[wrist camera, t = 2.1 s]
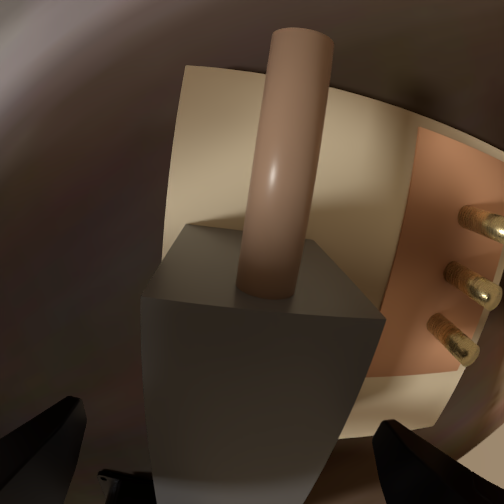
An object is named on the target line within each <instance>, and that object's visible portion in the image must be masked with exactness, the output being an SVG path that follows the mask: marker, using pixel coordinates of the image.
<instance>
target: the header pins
mask: <svg viewBox="0 0 504 504" xmlns="http://www.w3.org/2000/svg"><path fill="white" fill-rule="evenodd" d="M458 223H459V225H460V226H461V227H462V228H465V229H467V230H470V231H472V232H475V233H477V234H480V235H482V236H485V237H487V238H490V239H492V240H494V241H497V242H499V243H501V244H504V216H501V215H498V214H495V213H492V212H489V211H485V210H482V209H479V208H475V207H472V206H469V205H465V206H463V207H462V208H461V209H460V210H459V213H458ZM443 275H444V279H445V281H446V282H448V283H449V284H451V285H452V286H454V287H455V288H457V289H458V290H460V291H461V292H463V293H464V294H466V295H467V296H468V297H470V298H471V299H473V300H474V301H476V302H477V303H478V304H480V305H481V306H483V307H484V308H485V309H487V310H489V311H491V310H493V309H495V308H496V307H497V306H498V304H499V303H500V301H501V298H502V288H501V287H500V286H498V285H497V284H495V283H493V282H492V281H490V280H488V279H486V278H485V277H483V276H481V275H480V274H478V273H476V272H474V271H473V270H471V269H469V268H467V267H466V266H464V265H462V264H460V263H458V262H457V261H451V262H450V263H448V264H447V266H446V267H445V269H444V274H443ZM426 327H427V330H428V331H429V332H430V333H431V334H432V335H433V336H434V337H435V338H436V339H437V340H438V341H439V342H440V343H441V344H442V345H443V346H444V347H445V348H446V349H447V350H448V351H449V352H450V353H451V354H452V355H453V356H454V357H455V358H456V359H457V360H458V361H459V362H460V363H461V365H462V366H464V367H466V366H469V365H471V364H472V363H473V362H474V361H475V360H476V359H477V357H478V355H479V352H480V348H479V346H478V345H477V344H475V343H474V342H473V341H472V340H471V339H470V338H469V337H468V336H466V335H465V334H464V333H463V332H462V331H461V330H460V329H459V328H457V327H456V326H455V325H454V324H453V323H452V322H450V321H449V320H448V319H447V318H446V317H445V316H443V315H442V314H441V313H435V314H433V315H432V316H431V317H430V318H429V320H428V322H427V325H426Z"/></svg>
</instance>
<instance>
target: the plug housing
mask: <svg viewBox="0 0 504 504" xmlns="http://www.w3.org/2000/svg"><path fill="white" fill-rule="evenodd" d="M333 50H334V42H333V41H332V39H331V38H329V37H328V36H326V35H324V34H322V33H320V32H317V31H314V30H310V29H304V28H283V29H279V30H277V31H275V32H274V33H273V34H272V40H271V46H270V52H269V59H268V65H267V72H266V78H265V84H264V91H263V97H262V104H261V111H260V117H259V124H258V131H257V137H256V144H255V151H254V158H253V164H252V171H251V178H250V185H249V192H248V199H247V206H246V213H245V220H244V227H243V231H241V230H233V229H225V228H217V227H209V226H200V225H192V224H185V226H184V227H183V229H182V230H181V232H180V234H179V235H178V237H177V238H176V240H175V241H174V243H173V244H172V246H171V248H170V249H169V251H168V252H167V254H166V256H165V257H164V259H163V260H162V262H161V264H160V265H159V267H158V268H157V270H156V272H155V273H154V275H153V277H152V278H151V280H150V282H149V283H148V285H147V287H146V288H145V290H144V292H143V293H142V295H141V353H142V375H143V392H144V405H145V417H146V428H147V437H148V446H149V454H150V462H151V469H152V476H153V483H154V489H155V495H156V501H157V504H303V503H304V501H305V499H306V498H307V496H308V494H309V493H310V491H311V489H312V487H313V486H314V484H315V482H316V480H317V479H318V477H319V475H320V473H321V471H322V469H323V468H324V466H325V464H326V462H327V460H328V458H329V456H330V454H331V452H332V450H333V448H334V446H335V444H336V442H337V440H338V438H339V436H340V434H341V432H342V430H343V428H344V426H345V424H346V421H347V419H348V417H349V415H350V413H351V410H352V408H353V406H354V404H355V401H356V399H357V397H358V394H359V392H360V390H361V387H362V385H363V382H364V380H365V377H366V375H367V372H368V370H369V367H370V365H371V362H372V359H373V357H374V354H375V351H376V348H377V346H378V343H379V340H380V337H381V334H382V331H383V329H384V326H385V323H386V320H387V319H386V318H385V317H384V316H383V315H382V313H381V312H380V311H379V310H378V309H377V308H376V307H375V306H374V305H373V303H372V302H371V301H370V300H369V299H368V298H367V297H366V296H365V295H364V294H363V292H362V291H361V290H360V289H359V288H358V287H357V286H356V285H355V284H354V283H353V282H352V280H351V279H350V278H349V277H348V276H347V275H346V274H345V273H344V272H343V271H342V270H341V269H340V268H339V267H338V265H337V264H336V263H335V262H334V261H333V260H332V259H331V258H330V257H329V256H328V255H327V254H326V253H325V252H324V251H323V250H322V249H321V248H320V246H319V245H318V244H317V243H316V242H315V241H314V240H311V239H305V237H306V232H307V226H308V221H309V215H310V209H311V204H312V198H313V192H314V186H315V180H316V174H317V168H318V161H319V155H320V148H321V142H322V135H323V128H324V121H325V114H326V107H327V99H328V92H329V84H330V76H331V67H332V59H333Z"/></svg>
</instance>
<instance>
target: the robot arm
mask: <svg viewBox="0 0 504 504" xmlns="http://www.w3.org/2000/svg"><path fill="white" fill-rule="evenodd" d="M86 423H87V418H86V414H85V409H84V405H83V402H82V400H81V399H80V398H77V397H73V396H67V397H66V398H64V399H62V400H61V401H59V402H58V403H56V404H55V405H53V406H52V407H50V408H48V409H47V410H45V411H44V412H42V413H41V414H39V415H37V416H36V417H34V418H33V419H31V420H30V421H28V422H26V423H25V424H23V425H22V426H20V427H18V428H17V429H15V430H14V431H12V432H10V433H9V434H7V435H6V436H4V437H2V438H1V439H0V504H63V503H64V500H65V497H66V494H67V491H68V488H69V486H70V483H71V480H72V477H73V474H74V471H75V468H76V465H77V461H78V457H79V453H80V448H81V444H82V440H83V436H84V432H85V428H86ZM372 444H373V449H374V455H375V460H376V465H377V470H378V476H379V480H380V484H381V487H382V491H383V494H384V497H385V500H386V504H504V489H502V488H500V487H498V486H496V485H495V484H492V483H491V482H489V481H487V480H485V479H484V478H482V477H480V476H479V475H477V474H476V473H474V472H471V471H470V470H469V469H468V468H466V467H465V466H463V465H462V464H460V463H458V462H457V461H455V460H454V459H452V458H451V457H449V456H448V455H446V454H445V453H443V452H442V451H440V450H439V449H437V448H436V447H434V446H433V445H431V444H430V443H428V442H427V441H426V440H424V439H423V438H421V437H420V436H418V435H417V434H415V433H414V432H412V431H411V430H410V429H408V428H407V427H405V426H404V425H402V424H401V423H400V422H398V421H397V420H395V419H388V420H383V421H382V422H381V423H380V425H379V427H378V429H377V430H376V432H375V434H374V436H373V439H372ZM97 478H98V481H99V483H100V486H101V488H102V490H103V493H104V495H105V498H106V503H105V504H157V501H156V495H155V489H154V483H153V482H150V481H144V480H139V479H134V478H129V477H125V476H120V475H116V474H111V473H107V472H103V471H99V472H98V475H97Z"/></svg>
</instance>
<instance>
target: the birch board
mask: <svg viewBox="0 0 504 504" xmlns="http://www.w3.org/2000/svg"><path fill="white" fill-rule="evenodd" d="M265 78H266V74H260V73H254V72H247V71H239V70H231V69H222V68H212V67H201V66H187V65H186V67H185V72H184V78H183V83H182V89H181V95H180V101H179V107H178V113H177V120H176V127H175V134H174V141H173V148H172V156H171V164H170V173H169V182H168V191H167V201H166V212H165V224H164V237H163V252H162V260H163V259H164V257H165V256H166V254H167V252H168V251H169V249H170V248H171V246H172V244H173V243H174V241H175V240H176V238H177V237H178V235H179V234H180V232H181V230H182V229H183V227H184V226H185V224H192V225H200V226H209V227H217V228H225V229H233V230H241V231H243V227H244V220H245V213H246V206H247V199H248V192H249V185H250V178H251V171H252V164H253V158H254V151H255V144H256V137H257V131H258V124H259V117H260V111H261V104H262V97H263V91H264V84H265ZM465 205H469V206H472V207H475V208H479V209H482V210H485V211H489V212H492V213H495V214H498V215H501V216H504V152H503V151H501V150H499V149H497V148H495V147H493V146H491V145H489V144H487V143H485V142H483V141H481V140H479V139H477V138H474V137H472V136H470V135H468V134H466V133H463V132H461V131H459V130H457V129H454V128H452V127H450V126H447V125H445V124H442V123H440V122H437V121H435V120H432V119H430V118H427V117H425V116H422V115H419V114H416V113H414V112H411V111H408V110H405V109H402V108H399V107H397V106H394V105H390V104H387V103H384V102H381V101H378V100H375V99H371V98H368V97H364V96H361V95H357V94H354V93H350V92H346V91H343V90H339V89H335V88H331V87H329V92H328V99H327V107H326V114H325V121H324V128H323V135H322V142H321V148H320V155H319V161H318V168H317V174H316V180H315V186H314V192H313V198H312V204H311V209H310V215H309V221H308V226H307V232H306V237H305V239H311V240H314V241H315V242H316V243H317V244H318V245H319V246H320V248H321V249H322V250H323V251H324V252H325V253H326V254H327V255H328V256H329V257H330V258H331V259H332V260H333V261H334V262H335V263H336V264H337V265H338V267H339V268H340V269H341V270H342V271H343V272H344V273H345V274H346V275H347V276H348V277H349V278H350V279H351V280H352V282H353V283H354V284H355V285H356V286H357V287H358V288H359V289H360V290H361V291H362V292H363V294H364V295H365V296H366V297H367V298H368V299H369V300H370V301H371V302H372V303H373V305H374V306H375V307H376V308H377V309H378V310H379V311H380V312H381V313H382V315H383V316H384V317H385V318H386V319H387V320H386V323H385V326H384V329H383V331H382V334H381V337H380V340H379V343H378V346H377V348H376V351H375V354H374V357H373V359H372V362H371V365H370V367H369V370H368V372H367V375H366V377H365V380H364V382H363V385H362V387H361V390H360V392H359V394H358V397H357V399H356V401H355V404H354V406H353V408H352V410H351V413H350V415H349V417H348V419H347V421H346V424H345V426H344V428H343V430H342V432H341V434H340V436H339V438H338V439H342V438H354V437H364V436H373V435H374V434H375V432H376V430H377V429H378V427H379V425H380V423H381V422H382V421H383V420H388V419H395V420H397V421H398V422H400V423H401V424H402V425H404V426H405V427H407V428H408V429H410V430H414V429H419V428H425V427H430V426H434V424H435V422H436V421H437V419H438V418H439V416H440V414H441V413H442V411H443V409H444V407H445V406H446V404H447V402H448V400H449V399H450V397H451V395H452V393H453V391H454V389H455V387H456V386H457V384H458V382H459V380H460V378H461V376H462V374H463V372H464V370H465V368H466V367H464V366H462V365H461V363H460V362H459V361H458V360H457V359H456V358H455V357H454V356H453V355H452V354H451V353H450V352H449V351H448V350H447V349H446V348H445V347H444V346H443V345H442V344H441V343H440V342H439V341H438V340H437V339H436V338H435V337H434V336H433V335H432V334H431V333H430V332H429V331H428V330H427V327H426V325H427V322H428V320H429V318H430V317H431V316H432V315H433V314H435V313H441V314H442V315H443V316H445V317H446V318H447V319H448V320H449V321H450V322H452V323H453V324H454V325H455V326H456V327H457V328H459V329H460V330H461V331H462V332H463V333H464V334H465V335H466V336H468V337H469V338H470V339H471V340H472V341H473V342H474V343H475V344H477V342H478V339H479V337H480V335H481V332H482V330H483V327H484V325H485V322H486V320H487V317H488V314H489V312H490V311H489V310H487V309H485V308H484V307H483V306H481V305H480V304H478V303H477V302H476V301H474V300H473V299H471V298H470V297H468V296H467V295H466V294H464V293H463V292H461V291H460V290H458V289H457V288H455V287H454V286H452V285H451V284H449V283H448V282H446V281H445V279H444V275H443V274H444V269H445V267H446V266H447V264H448V263H450V262H451V261H457V262H458V263H460V264H462V265H464V266H466V267H467V268H469V269H471V270H473V271H474V272H476V273H478V274H480V275H481V276H483V277H485V278H486V279H488V280H490V281H492V282H493V283H495V284H497V285H498V286H499V283H500V280H501V277H502V273H503V270H504V244H501V243H499V242H497V241H494V240H492V239H490V238H487V237H485V236H482V235H480V234H477V233H475V232H472V231H470V230H467V229H465V228H462V227H461V226H460V225H459V223H458V213H459V210H460V209H461V208H462V207H463V206H465Z"/></svg>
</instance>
